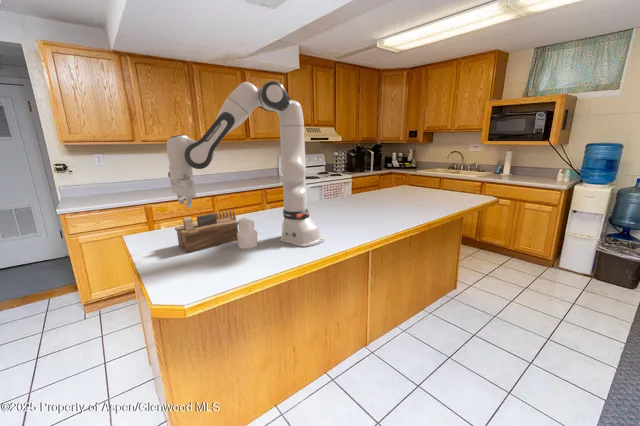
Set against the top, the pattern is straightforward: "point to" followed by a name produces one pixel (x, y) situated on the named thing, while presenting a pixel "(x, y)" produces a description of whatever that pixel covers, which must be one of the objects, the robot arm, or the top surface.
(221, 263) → the top surface
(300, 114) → the robot arm
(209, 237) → the toolbox
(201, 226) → the lid
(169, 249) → the top surface
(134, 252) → the top surface
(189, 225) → the pin
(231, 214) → the ammunition clip
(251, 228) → the base with upright slab
